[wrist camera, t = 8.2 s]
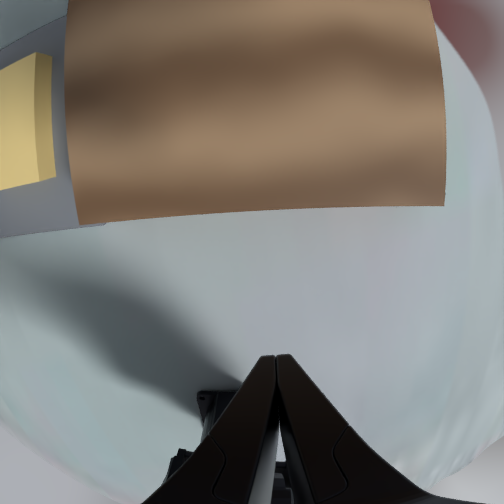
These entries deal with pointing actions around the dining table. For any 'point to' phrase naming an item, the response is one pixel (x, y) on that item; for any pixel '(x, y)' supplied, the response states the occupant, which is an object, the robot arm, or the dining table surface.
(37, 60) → the yellow rectangular block
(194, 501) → the robot arm
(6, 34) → the dining table surface
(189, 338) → the dining table surface
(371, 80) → the brown wooden flat block
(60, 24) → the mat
